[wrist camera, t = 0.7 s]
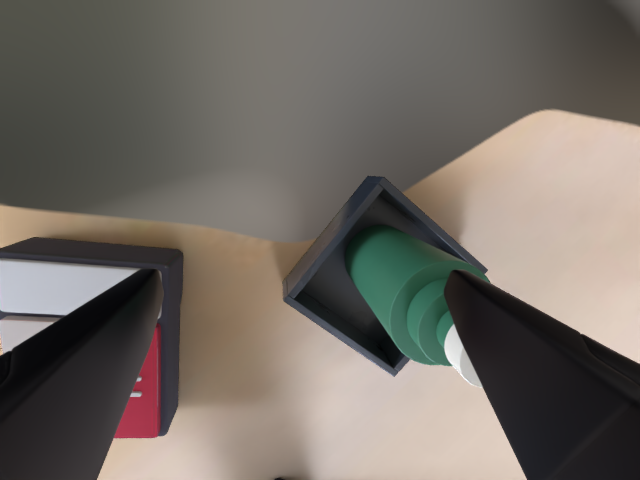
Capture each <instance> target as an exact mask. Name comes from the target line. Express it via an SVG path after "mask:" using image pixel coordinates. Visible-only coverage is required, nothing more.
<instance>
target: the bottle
mask: <svg viewBox="0 0 640 480" xmlns="http://www.w3.org/2000/svg"><path fill="white" fill-rule="evenodd" d="M345 267H346V271H347V273H348V275H349V277H350V278H351V280H352V281H353V283H354V284H355V286H356V287H357V289H358V290H359V292H360V293H361V295H362V296H363V298H364V299H365V300H366V302H367V303H368V305H369V306H370V308H371V309H372V311H373V312H374V314H375V315H376V317H377V318H378V320H379V321H380V323H381V324H382V325H383V327H384V328H385V330H386V331H387V333H388V334H389V336H390V337H391V339H392V340H393V342H394V343H395V345H396V346H397V347H398V349H399V350H400V351H401V352H402V353H403V354H404V355H405V356H407V357H408V358H410V359H412V360H414V361H416V362H418V363H422V364H427V365H444V366H453V367H454V368H455V369H456V370H457V371H458V372H459V373H460V374H461V375H462V377H463V378H464V379H465V380H466V381H467V382H469V383H470V384H472V385H474V386H477V387H482V385H481V382H480V380H479V378H478V376H477V374H476V372H475V370H474V368H473V366H472V364H471V362H470V360H469V358H468V355H467V353H466V351H465V349H464V347H463V345H462V343H461V341H460V338H459V336H458V334H457V331H456V328H455V326H454V323H453V320H452V317H451V314H450V312H449V309H448V306H447V303H446V300H445V298H444V287H445V285H446V282H447V279H448V277H449V274H450V272H451V271H452V270H467V271H468V272H470V273H472V274H474V275H476V276H478V277H479V278H481V279H483V280H485V281H487V282H489V283H490V281H489V280H488V278H487V277H486V276H485V275H484V274H483V272H482V271H480V270H479V269H478V268H476V267H475V266H473V265H471V264H469V263H467V262H465V261H463V260H461V259H458V258H456V257H454V256H452V255H450V254H448V253H446V252H444V251H442V250H440V249H438V248H436V247H434V246H431V245H429V244H427V243H425V242H423V241H421V240H419V239H417V238H415V237H413V236H411V235H409V234H407V233H404V232H402V231H400V230H398V229H396V228H394V227H391V226H388V225H373V226H370V227H367V228H365V229H363V230H362V231H360V232H359V233H358V234H356V235H355V236H354V238H353V239H352V240H351V242H350V243H349V245H348V247H347V250H346V254H345ZM490 284H491V283H490Z"/></svg>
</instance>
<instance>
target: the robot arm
mask: <svg viewBox="0 0 640 480" xmlns="http://www.w3.org/2000/svg"><path fill="white" fill-rule="evenodd" d="M163 296H164V291H163V286H162V282H161V278H160V273H159V271H158V270H157V269H155V268H142V269H140V270H138V271H137V272H135V273H133V274H132V275H130V276H128V277H127V278H125V279H124V280H122V281H120V282H119V283H117V284H116V285H114V286H112V287H111V288H109V289H108V290H106V291H104V292H103V293H101V294H99V295H98V296H96V297H95V298H93V299H91V300H90V301H88V302H87V303H85V304H83V305H82V306H80V307H78V308H77V309H75V310H74V311H72V312H70V313H69V314H67V315H66V316H64V317H62V318H61V319H59V320H57V321H56V322H54V323H53V324H51V325H49V326H48V327H46V328H45V329H43V330H41V331H40V332H38V333H36V334H35V335H33V336H32V337H30V338H28V339H27V340H25V341H23V342H22V343H20V344H19V345H17V346H15V347H14V348H13V349H12V351H7V352H6V353H4V354H2V355H1V356H0V480H97V478H98V475H99V473H100V470H101V468H102V466H103V463H104V461H105V458H106V456H107V453H108V451H109V448H110V446H111V443H112V441H113V438H114V436H115V433H116V431H117V428H118V426H119V423H120V421H121V418H122V416H123V413H124V411H125V408H126V406H127V403H128V401H129V398H130V396H131V393H132V391H133V388H134V386H135V383H136V381H137V378H138V376H139V373H140V371H141V368H142V366H143V363H144V361H145V359H146V356H147V354H148V351H149V348H150V345H151V342H152V339H153V335H154V331H155V327H156V324H157V320H158V316H159V312H160V309H161V305H162V301H163ZM444 298H445V300H446V303H447V306H448V309H449V312H450V314H451V317H452V320H453V323H454V326H455V328H456V331H457V334H458V336H459V338H460V341H461V343H462V345H463V347H464V349H465V351H466V353H467V355H468V358H469V360H470V362H471V364H472V366H473V368H474V370H475V372H476V374H477V376H478V378H479V380H480V382H481V385H482V387H483V389H484V391H485V393H486V395H487V397H488V399H489V401H490V403H491V405H492V407H493V409H494V412H495V414H496V416H497V418H498V420H499V422H500V424H501V426H502V428H503V430H504V432H505V434H506V437H507V439H508V441H509V443H510V445H511V447H512V449H513V451H514V453H515V455H516V457H517V459H518V461H519V464H520V466H521V468H522V470H523V472H524V474H525V476H526V478H527V480H640V364H639V363H637V362H635V361H633V360H631V359H629V358H627V357H625V356H623V355H621V354H619V353H617V352H615V351H613V350H611V349H610V348H608V347H606V346H604V345H602V344H600V343H598V342H596V341H595V340H593V339H591V338H589V337H587V336H586V335H584V334H580V332H578V331H576V330H574V329H573V328H571V327H569V326H567V325H565V324H563V323H562V322H560V321H558V320H556V319H554V318H553V317H551V316H549V315H547V314H545V313H543V312H542V311H540V310H538V309H536V308H534V307H532V306H531V305H529V304H527V303H525V302H523V301H521V300H520V299H518V298H516V297H514V296H512V295H511V294H509V293H507V292H505V291H503V290H501V289H500V288H498V287H496V286H494V285H492V284H490V283H489V282H487V281H485V280H483V279H481V278H479V277H478V276H476V275H474V274H472V273H470V272H468V271H467V270H452V271H451V272H450V274H449V277H448V279H447V282H446V285H445V287H444ZM275 480H283V479H281V478H276V479H275Z"/></svg>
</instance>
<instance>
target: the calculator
mask: <svg viewBox="0 0 640 480" xmlns="http://www.w3.org/2000/svg"><path fill="white" fill-rule="evenodd" d="M142 268H155V269H157V270H158V271H159V273H160V278H161V282H162V286H163V291H164V296H163V301H162V305H161V309H160V312H159V316H158V320H157V324H156V327H155V331H154V335H153V339H152V342H151V345H150V348H149V351H148V354H147V356H146V359H145V361H144V363H143V366H142V368H141V371H140V373H139V376H138V378H137V381H136V383H135V386H134V388H133V391H132V393H131V396H130V398H129V401H128V403H127V406H126V408H125V411H124V413H123V416H122V418H121V421H120V423H119V426H118V428H117V431H116V433H115V436H114V438H155V437H157V436H164V435H166V434H167V432H168V430H169V427H170V425H171V422H172V420H173V417H174V415H175V412H176V410H177V407H178V379H179V330H180V303H181V297H182V288H183V253H182V251H180V250H178V249H168V248H156V247H144V246H133V245H121V244H109V243H97V242H86V241H74V240H62V239H50V238H39V237H33V238H30V239H27V240H24V241H21V242H18V243H15V244H12V245H9V246H6V247H3V248H0V336H1V343H2V350H3V354H4V353H6V352H7V351H12V349H13V348H14V347H15V346H17V345H19V344H20V343H22V342H23V341H25V340H27V339H28V338H30V337H32V336H33V335H35V334H36V333H38V332H40V331H41V330H43V329H45V328H46V327H48V326H49V325H51V324H53V323H54V322H56V321H57V320H59V319H61V318H62V317H64V316H66V315H67V314H69V313H70V312H72V311H74V310H75V309H77V308H78V307H80V306H82V305H83V304H85V303H87V302H88V301H90V300H91V299H93V298H95V297H96V296H98V295H99V294H101V293H103V292H104V291H106V290H108V289H109V288H111V287H112V286H114V285H116V284H117V283H119V282H120V281H122V280H124V279H125V278H127V277H128V276H130V275H132V274H133V273H135V272H137V271H138V270H140V269H142Z"/></svg>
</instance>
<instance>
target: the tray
mask: <svg viewBox="0 0 640 480" xmlns="http://www.w3.org/2000/svg"><path fill="white" fill-rule="evenodd" d="M373 225H388V226H391V227H394V228H396V229H398V230H400V231H402V232H404V233H407V234H409V235H411V236H413V237H415V238H417V239H419V240H421V241H423V242H425V243H427V244H429V245H431V246H434V247H436V248H438V249H440V250H442V251H444V252H446V253H448V254H450V255H452V256H454V257H456V258H458V259H461V260H463V261H465V262H467V263H469V264H471V265H473V266H475V267H476V268H478V269H479V270H480V271H482V272H483V274H485V273H486V272H487V271H488V269H486V268H485V267H484V266H483V265H482V264H481V263H480V262H479V261H478V260H476V259H475V258H474V257H473V256H472V255H471V254H470V253H469V252H467V251H466V250H465V249H464V248H463V247H462V246H461V245H460V244H458V243H457V242H456V241H455V240H454V239H453V238H452V237H451V236H449V235H448V234H447V233H446V232H445V231H444V230H443V229H442V228H441V227H439V226H438V225H437V224H436V223H435V222H434V221H433V220H432V219H430V218H429V217H428V216H427V215H426V214H425V213H424V212H423V211H421V210H420V209H419V208H418V207H417V206H416V205H415V204H414V203H413V202H411V201H410V200H409V199H408V198H407V197H406V196H405V195H404V194H402V193H401V192H400V191H399V190H398V189H397V188H396V187H394V186H393V185H392V184H391V183H390V182H389V181H388V180H387V179H386V178H385V177H376V176H367V178H366V179H365V180H364V181H363V183H362V184H361V185H360V186H359V187H358V189H357V190H356V191H355V192H354V194H353V195H352V196H351V197H350V199H349V200H348V201H347V202H346V204H345V205H344V206H343V207H342V209H341V210H340V211H339V212H338V213H337V215H336V216H335V217H334V218H333V220H332V221H331V222H330V223H329V225H328V226H327V227H326V228H325V230H324V231H323V232H322V233H321V235H320V236H319V237H318V238H317V240H316V241H315V242H314V243H313V245H312V246H311V247H310V248H309V249H308V251H307V252H306V253H305V254H304V256H303V257H302V258H301V259H300V261H299V262H298V263H297V264H296V266H295V267H294V268H293V269H292V271H291V272H290V273H289V274H288V276H287V277H286V278H285V279H284V281H283V282H282V284H283V301H284V302H286V303H287V304H289V305H290V306H291V307H293V308H294V309H296V310H297V311H299V312H300V313H302V314H303V315H305V316H306V317H308V318H309V319H310V320H312V321H313V322H315V323H316V324H318V325H319V326H321V327H322V328H324V329H325V330H326V331H328V332H329V333H331V334H332V335H334V336H335V337H337V338H338V339H340V340H341V341H343V342H344V343H345V344H347V345H348V346H350V347H351V348H353V349H354V350H356V351H357V352H359V353H360V354H361V355H363V356H364V357H366V358H367V359H369V360H370V361H372V362H373V363H375V364H376V365H378V366H379V367H380V368H382V369H383V370H385V371H386V372H388V373H389V374H391V375H392V376H394V377H395V376H396V374H397V373H398V371H400V370H401V369H402V368H403V367H404V365H405V364H406V363H407V362H408V361H409V360H410V358H408V357H407V356H405V355H404V354H403V353H402V352H401V351H400V350H399V349H398V347H397V346H396V345H395V343H394V342H393V340H392V339H391V337H390V336H389V334H388V333H387V331H386V330H385V328H384V327H383V325H382V324H381V323H380V321H379V320H378V318H377V317H376V315H375V314H374V312H373V311H372V309H371V308H370V306H369V305H368V303H367V302H366V300H365V299H364V298H363V296H362V295H361V293H360V292H359V290H358V289H357V287H356V286H355V284H354V283H353V281H352V280H351V278H350V277H349V275H348V273H347V271H346V267H345V254H346V250H347V247H348V245H349V243H350V242H351V240H352V239H353V238H354V236H355V235H356V234H358V233H359V232H360V231H362V230H363V229H365V228H367V227H370V226H373Z"/></svg>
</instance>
